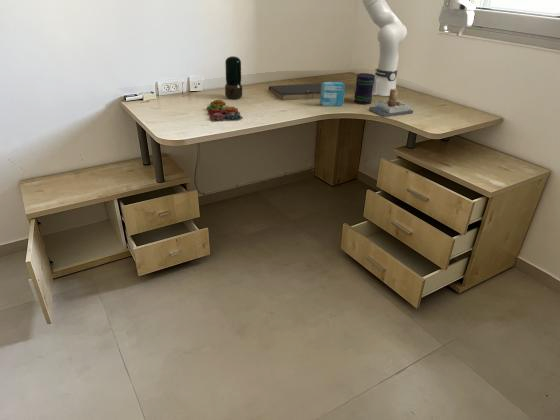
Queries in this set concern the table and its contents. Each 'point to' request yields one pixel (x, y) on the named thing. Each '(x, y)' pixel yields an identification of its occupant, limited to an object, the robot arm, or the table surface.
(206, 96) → the table surface
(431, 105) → the table surface
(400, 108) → the carrier plate
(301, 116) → the table surface
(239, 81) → the dark green cactus pot
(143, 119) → the table surface
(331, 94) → the data package
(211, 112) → the gear puzzle
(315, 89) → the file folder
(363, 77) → the storage jar
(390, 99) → the tan upright cylinder
